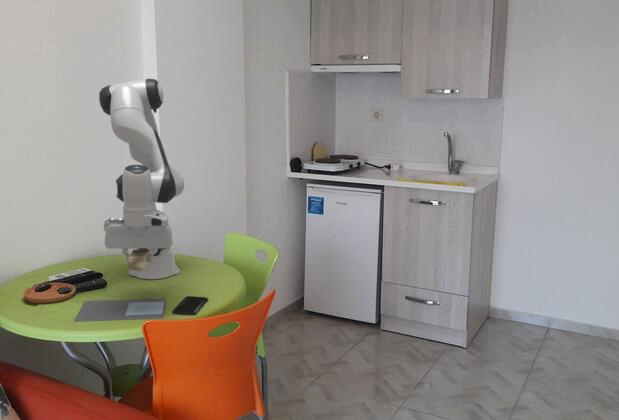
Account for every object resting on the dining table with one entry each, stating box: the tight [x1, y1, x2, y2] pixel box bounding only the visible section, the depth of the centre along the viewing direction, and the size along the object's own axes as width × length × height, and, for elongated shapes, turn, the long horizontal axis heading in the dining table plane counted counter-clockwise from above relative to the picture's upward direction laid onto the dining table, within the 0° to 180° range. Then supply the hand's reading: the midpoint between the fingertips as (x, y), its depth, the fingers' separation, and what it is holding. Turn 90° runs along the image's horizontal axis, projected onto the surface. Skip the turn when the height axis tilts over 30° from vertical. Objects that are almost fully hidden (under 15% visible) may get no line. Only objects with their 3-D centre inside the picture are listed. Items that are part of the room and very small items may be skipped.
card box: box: [128, 249, 150, 272], centre depth 190 cm, size 5×9×4 cm, turn 6°
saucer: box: [22, 282, 76, 305], centre depth 203 cm, size 16×16×3 cm
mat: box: [73, 297, 167, 323], centre depth 193 cm, size 18×26×1 cm
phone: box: [171, 295, 209, 317], centre depth 198 cm, size 8×1×15 cm
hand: (139, 261), depth 191 cm, fingers closed on card box, 5 cm apart
